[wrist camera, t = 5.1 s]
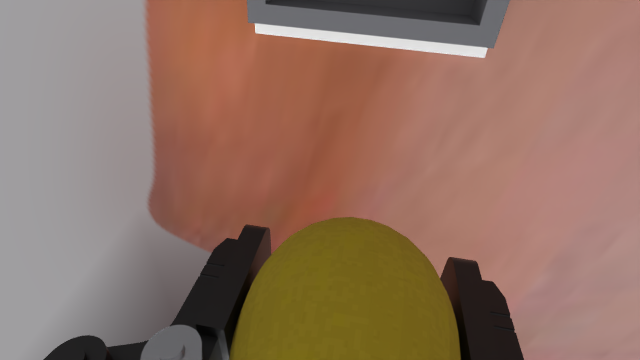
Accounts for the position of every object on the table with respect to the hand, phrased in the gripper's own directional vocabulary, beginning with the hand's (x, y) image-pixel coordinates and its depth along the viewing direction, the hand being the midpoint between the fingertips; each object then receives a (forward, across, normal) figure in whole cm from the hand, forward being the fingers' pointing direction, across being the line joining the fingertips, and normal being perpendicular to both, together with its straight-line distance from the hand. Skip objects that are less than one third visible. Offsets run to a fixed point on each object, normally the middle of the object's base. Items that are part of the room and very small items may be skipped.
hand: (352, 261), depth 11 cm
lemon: (+2, 0, 0) cm, 2 cm away
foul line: (+15, +1, -3) cm, 15 cm away
